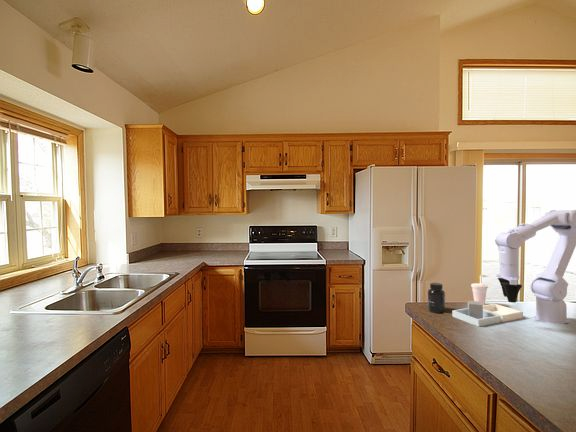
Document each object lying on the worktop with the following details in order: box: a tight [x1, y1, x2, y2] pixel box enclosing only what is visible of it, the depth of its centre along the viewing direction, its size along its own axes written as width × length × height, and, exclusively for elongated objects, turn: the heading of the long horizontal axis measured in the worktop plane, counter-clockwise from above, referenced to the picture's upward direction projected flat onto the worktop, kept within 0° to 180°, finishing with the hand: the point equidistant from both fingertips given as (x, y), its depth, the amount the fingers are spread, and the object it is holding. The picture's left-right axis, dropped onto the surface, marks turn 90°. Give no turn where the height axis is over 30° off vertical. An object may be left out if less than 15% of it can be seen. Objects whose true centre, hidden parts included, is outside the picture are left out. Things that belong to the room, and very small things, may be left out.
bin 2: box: [483, 303, 524, 323], centre depth 119 cm, size 11×11×3 cm
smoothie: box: [470, 274, 489, 305], centre depth 133 cm, size 6×6×14 cm
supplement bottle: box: [427, 282, 446, 314], centre depth 127 cm, size 7×7×12 cm
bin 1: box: [451, 307, 502, 327], centre depth 115 cm, size 11×11×3 cm
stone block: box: [467, 300, 483, 319], centre depth 115 cm, size 4×4×6 cm
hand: (509, 299), depth 112 cm, fingers open, 7 cm apart
